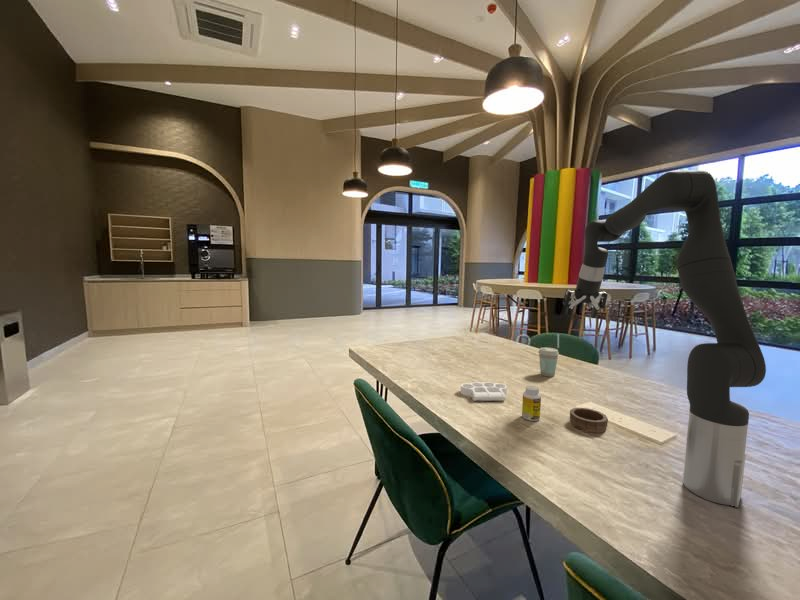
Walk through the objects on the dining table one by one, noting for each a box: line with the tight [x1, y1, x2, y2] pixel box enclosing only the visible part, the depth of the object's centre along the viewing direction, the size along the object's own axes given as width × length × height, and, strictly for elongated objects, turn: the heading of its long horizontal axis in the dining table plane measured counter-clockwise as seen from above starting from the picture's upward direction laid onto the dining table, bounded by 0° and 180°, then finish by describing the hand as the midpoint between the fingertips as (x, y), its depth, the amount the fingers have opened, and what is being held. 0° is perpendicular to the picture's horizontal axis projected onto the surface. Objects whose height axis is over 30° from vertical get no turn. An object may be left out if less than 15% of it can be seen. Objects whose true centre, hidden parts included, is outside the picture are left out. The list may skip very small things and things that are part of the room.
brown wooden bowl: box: [569, 407, 609, 434], centre depth 104 cm, size 10×10×4 cm
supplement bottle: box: [521, 385, 542, 422], centre depth 109 cm, size 6×6×10 cm
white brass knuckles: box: [460, 381, 508, 402], centre depth 129 cm, size 3×18×15 cm
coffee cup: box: [538, 346, 560, 378], centre depth 152 cm, size 8×9×12 cm
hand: (580, 316), depth 127 cm, fingers open, 8 cm apart
